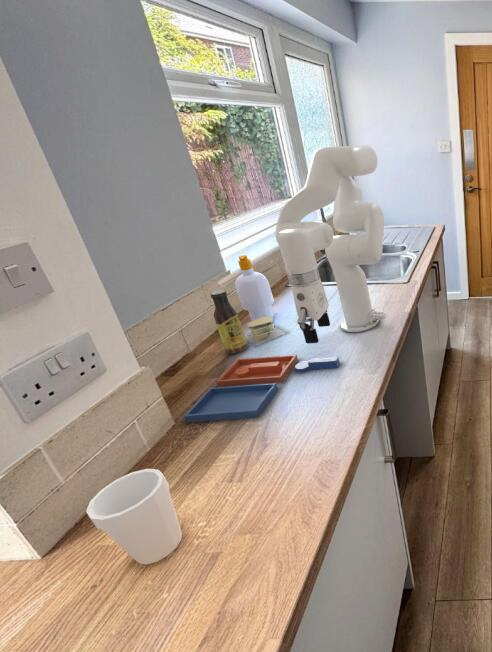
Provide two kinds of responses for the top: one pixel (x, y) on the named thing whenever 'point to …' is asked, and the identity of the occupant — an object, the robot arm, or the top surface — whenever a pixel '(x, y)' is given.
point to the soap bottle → (254, 291)
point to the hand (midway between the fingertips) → (318, 334)
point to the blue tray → (232, 402)
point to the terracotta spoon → (258, 369)
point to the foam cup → (138, 515)
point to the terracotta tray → (232, 380)
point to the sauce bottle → (228, 323)
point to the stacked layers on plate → (262, 331)
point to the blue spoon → (317, 364)
